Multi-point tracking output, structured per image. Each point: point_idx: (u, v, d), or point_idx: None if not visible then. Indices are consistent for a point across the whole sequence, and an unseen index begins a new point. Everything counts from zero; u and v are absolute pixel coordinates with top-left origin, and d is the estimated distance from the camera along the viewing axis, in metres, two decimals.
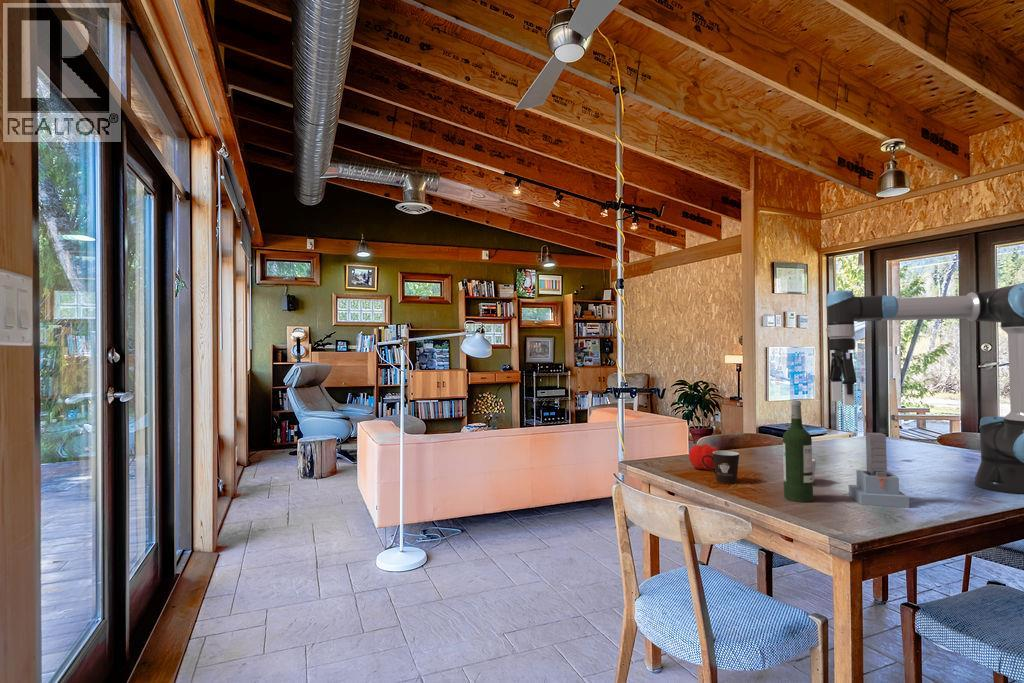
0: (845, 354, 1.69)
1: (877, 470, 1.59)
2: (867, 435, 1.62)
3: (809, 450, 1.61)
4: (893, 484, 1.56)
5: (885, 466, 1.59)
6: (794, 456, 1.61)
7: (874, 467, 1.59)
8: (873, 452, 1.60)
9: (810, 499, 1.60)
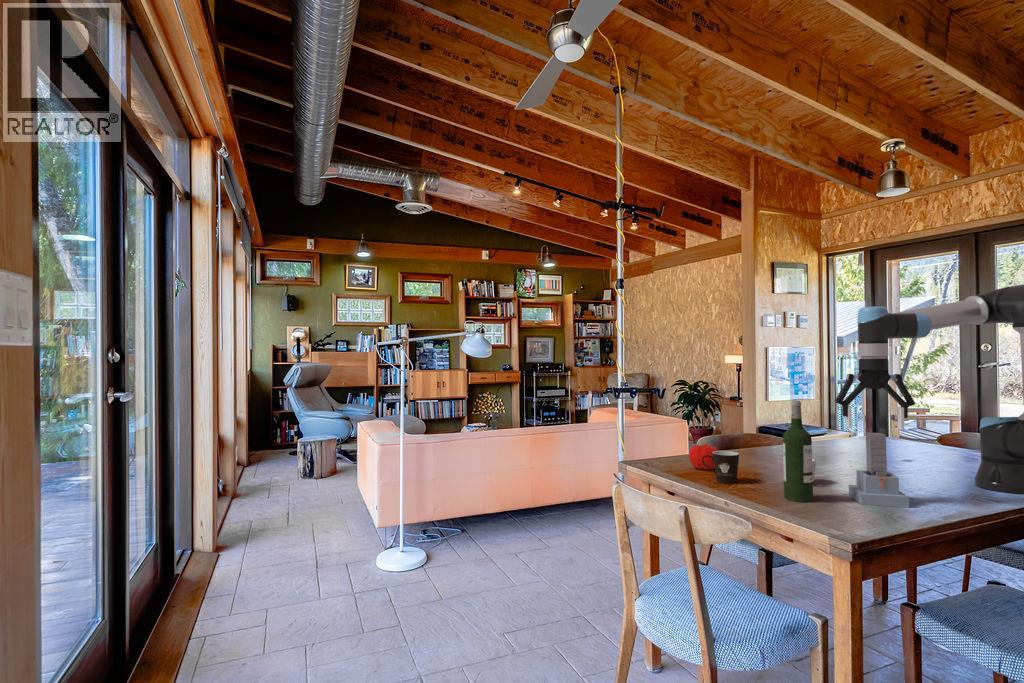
0: (847, 375, 1.64)
1: (877, 470, 1.59)
2: (867, 435, 1.62)
3: (809, 450, 1.61)
4: (893, 484, 1.56)
5: (885, 466, 1.59)
6: (794, 456, 1.61)
7: (874, 467, 1.59)
8: (873, 452, 1.60)
9: (810, 499, 1.60)
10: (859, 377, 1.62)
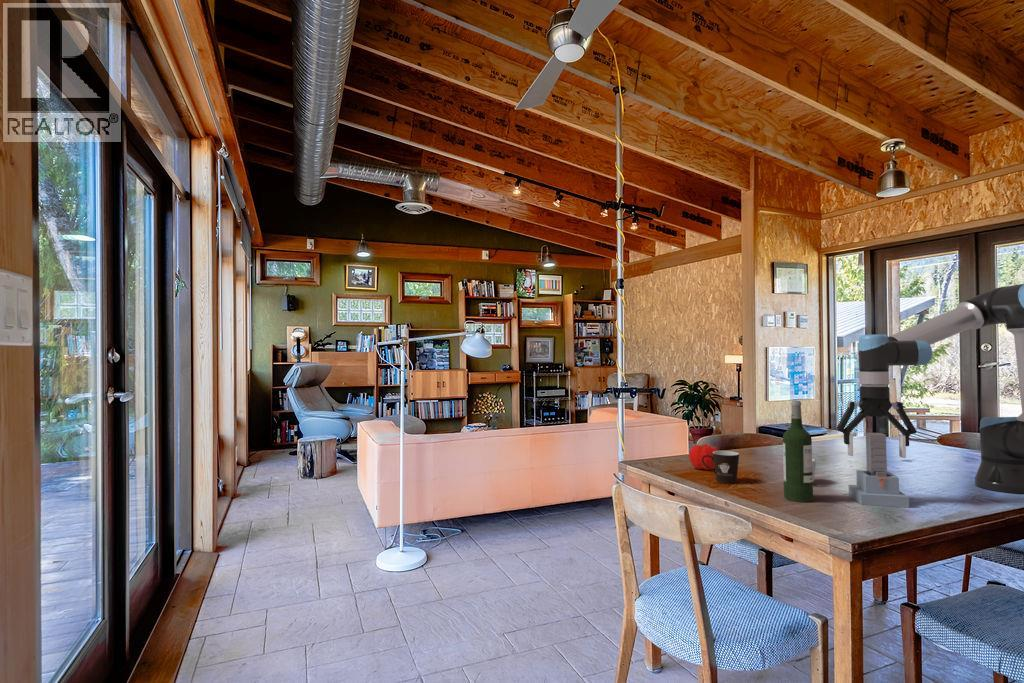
0: (848, 402, 1.64)
1: (877, 470, 1.59)
2: (867, 435, 1.62)
3: (809, 450, 1.61)
4: (893, 484, 1.56)
5: (885, 466, 1.59)
6: (794, 456, 1.61)
7: (874, 467, 1.59)
8: (873, 452, 1.60)
9: (810, 499, 1.60)
10: (860, 405, 1.62)
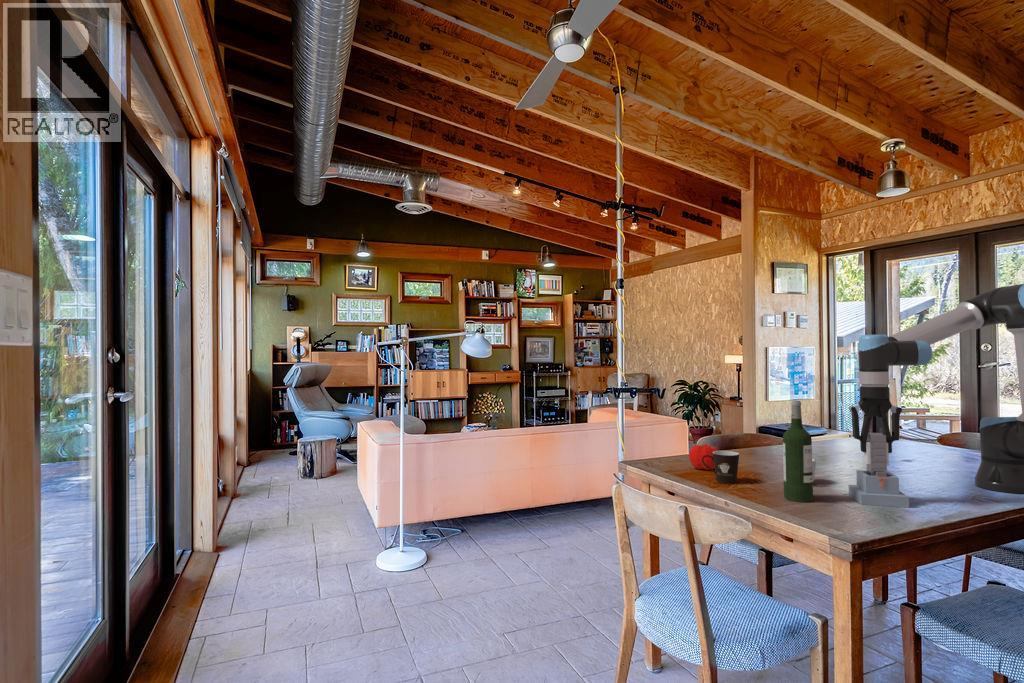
0: (849, 408, 1.64)
1: (877, 470, 1.59)
2: None
3: (809, 450, 1.61)
4: (893, 484, 1.56)
5: (885, 466, 1.59)
6: (794, 456, 1.61)
7: (874, 467, 1.59)
8: (873, 452, 1.60)
9: (810, 499, 1.60)
10: (860, 405, 1.62)
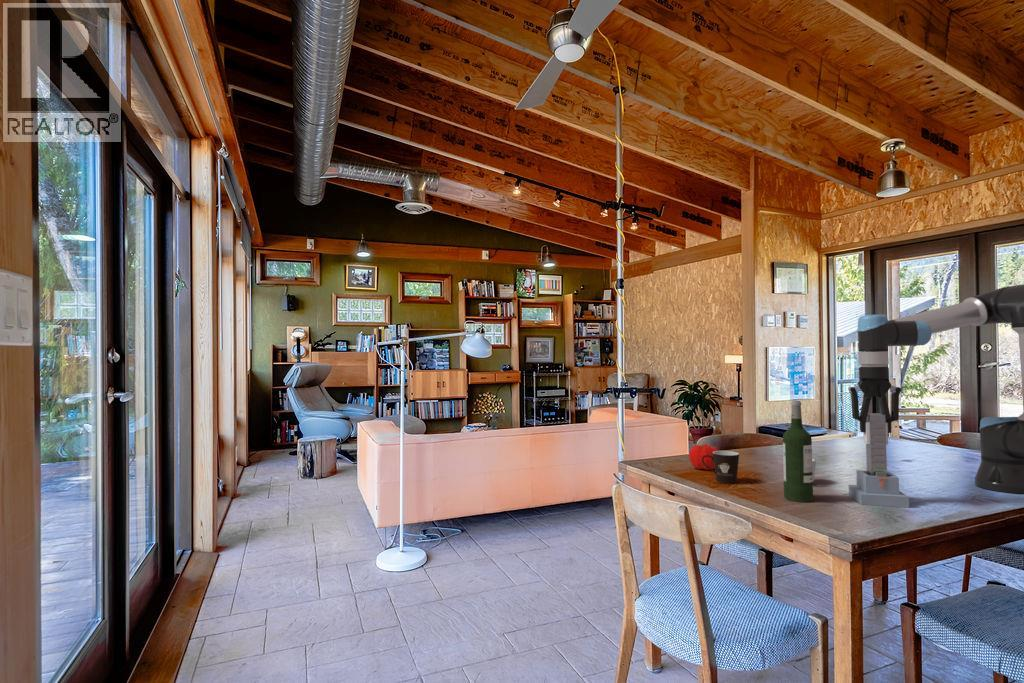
0: (849, 389, 1.64)
1: (876, 450, 1.59)
2: None
3: (809, 450, 1.61)
4: (893, 484, 1.56)
5: (884, 446, 1.59)
6: (794, 456, 1.61)
7: (873, 447, 1.60)
8: (872, 432, 1.60)
9: (810, 499, 1.60)
10: (860, 385, 1.62)
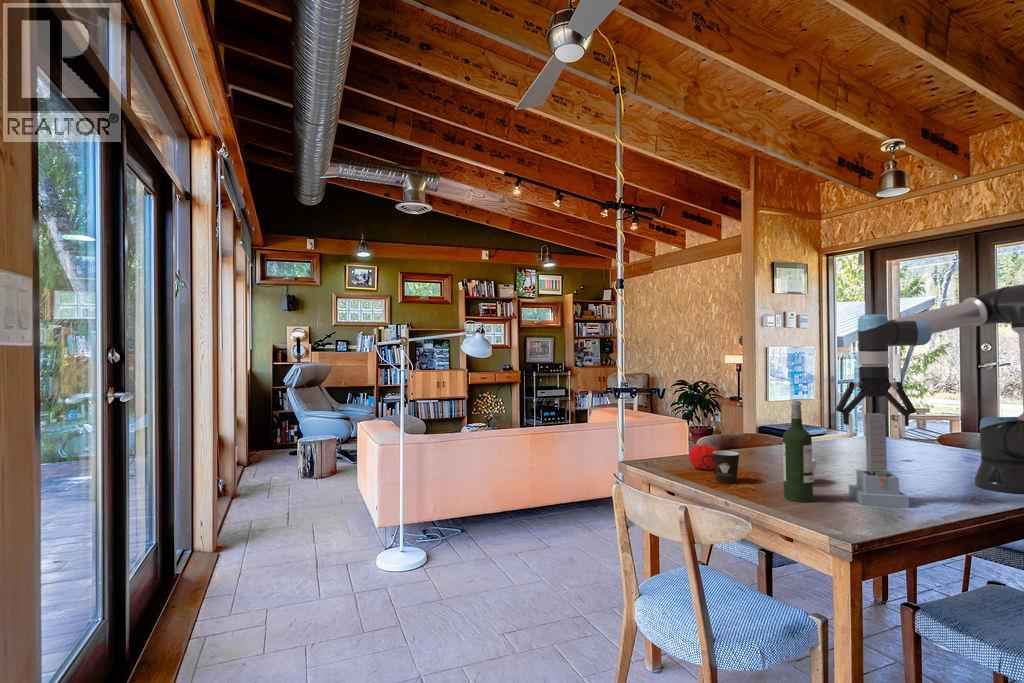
0: (847, 383, 1.64)
1: (876, 450, 1.59)
2: (866, 415, 1.62)
3: (809, 450, 1.61)
4: (893, 484, 1.56)
5: (884, 446, 1.59)
6: (794, 456, 1.61)
7: (873, 447, 1.60)
8: (872, 432, 1.60)
9: (810, 499, 1.60)
10: (860, 385, 1.62)
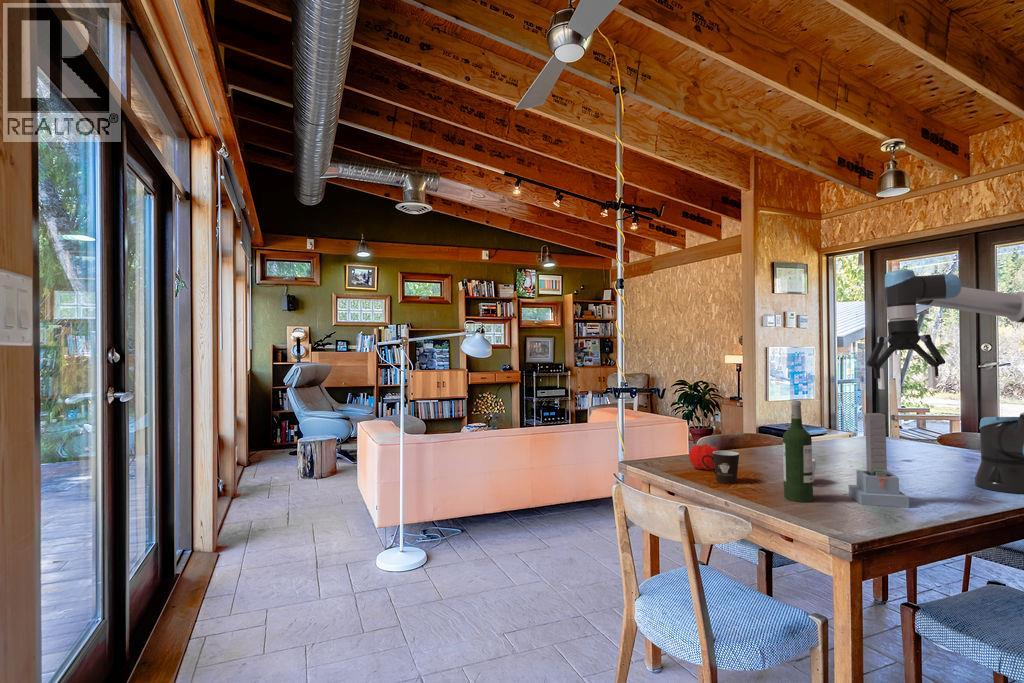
0: (877, 338, 1.69)
1: (876, 450, 1.59)
2: (866, 415, 1.62)
3: (809, 450, 1.61)
4: (893, 484, 1.56)
5: (884, 446, 1.59)
6: (794, 456, 1.61)
7: (873, 447, 1.60)
8: (872, 432, 1.60)
9: (810, 499, 1.60)
10: (889, 339, 1.67)
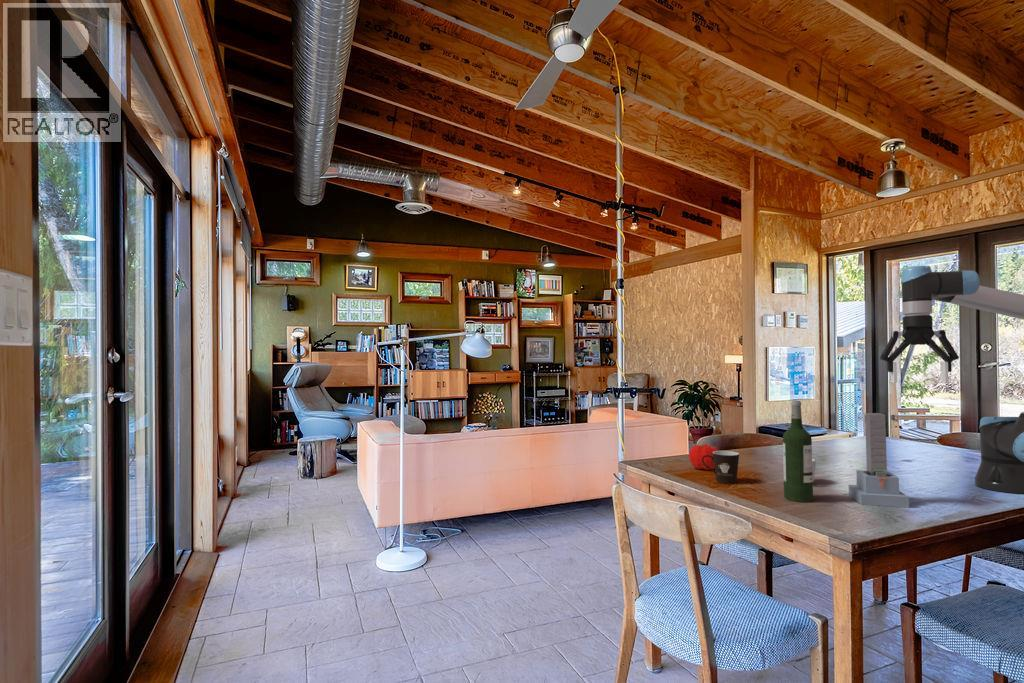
0: (891, 332, 1.71)
1: (876, 450, 1.59)
2: (866, 415, 1.62)
3: (809, 450, 1.61)
4: (893, 484, 1.56)
5: (884, 446, 1.59)
6: (794, 456, 1.61)
7: (873, 447, 1.60)
8: (872, 432, 1.60)
9: (810, 499, 1.60)
10: (904, 334, 1.69)
